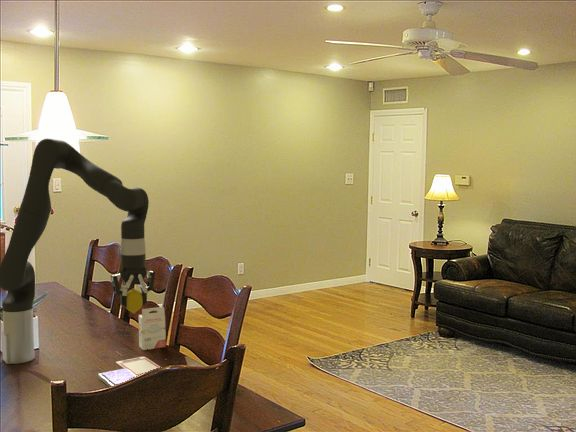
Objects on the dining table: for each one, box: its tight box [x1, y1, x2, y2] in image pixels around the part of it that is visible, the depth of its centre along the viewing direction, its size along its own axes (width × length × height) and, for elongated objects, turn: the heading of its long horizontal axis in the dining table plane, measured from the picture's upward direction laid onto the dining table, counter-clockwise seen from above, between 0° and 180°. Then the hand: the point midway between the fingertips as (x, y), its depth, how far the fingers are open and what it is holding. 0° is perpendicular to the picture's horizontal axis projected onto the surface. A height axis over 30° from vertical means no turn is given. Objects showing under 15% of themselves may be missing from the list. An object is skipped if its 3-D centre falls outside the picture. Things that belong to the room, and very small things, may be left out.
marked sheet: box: [115, 356, 161, 376], centre depth 203 cm, size 10×18×1 cm, turn 36°
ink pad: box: [98, 368, 136, 388], centre depth 191 cm, size 9×13×2 cm
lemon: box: [125, 288, 143, 314], centre depth 197 cm, size 6×6×8 cm
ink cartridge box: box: [138, 306, 167, 351], centre depth 224 cm, size 9×5×15 cm, turn 118°
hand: (133, 305), depth 197 cm, fingers closed on lemon, 5 cm apart
